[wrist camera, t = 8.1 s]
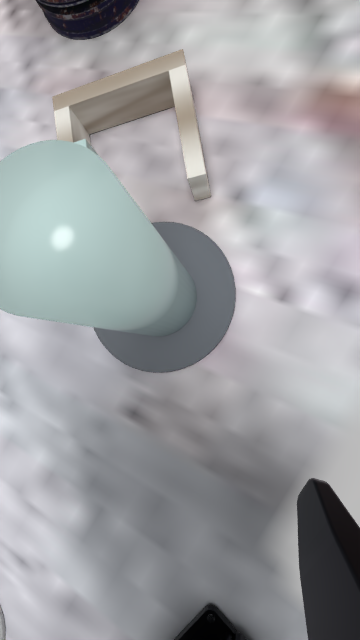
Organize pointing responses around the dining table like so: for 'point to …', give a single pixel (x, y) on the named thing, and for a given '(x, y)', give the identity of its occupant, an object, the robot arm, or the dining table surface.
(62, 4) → the storage jar
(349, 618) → the robot arm
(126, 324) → the pale green rounded piece
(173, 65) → the frame
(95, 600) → the dining table surface
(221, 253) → the grey flat disc
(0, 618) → the wineglass
